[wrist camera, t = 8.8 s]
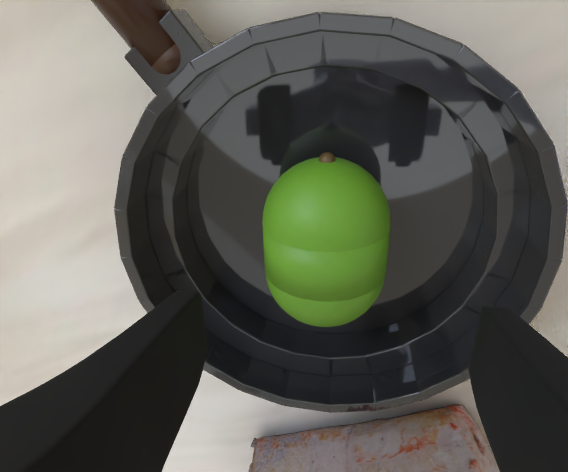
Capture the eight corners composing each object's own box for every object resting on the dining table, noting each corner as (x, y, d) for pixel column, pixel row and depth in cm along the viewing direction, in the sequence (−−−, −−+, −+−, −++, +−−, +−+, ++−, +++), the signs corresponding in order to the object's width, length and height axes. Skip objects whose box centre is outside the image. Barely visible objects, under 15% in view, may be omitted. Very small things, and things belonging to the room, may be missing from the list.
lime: (269, 134, 17) (246, 174, 13) (390, 136, 17) (406, 177, 13) (276, 290, 21) (258, 359, 17) (376, 295, 20) (384, 369, 16)
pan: (611, 104, 16) (686, 130, 12) (412, 388, 23) (424, 454, 20) (200, -55, 15) (157, -76, 12) (132, 290, 23) (93, 341, 19)
